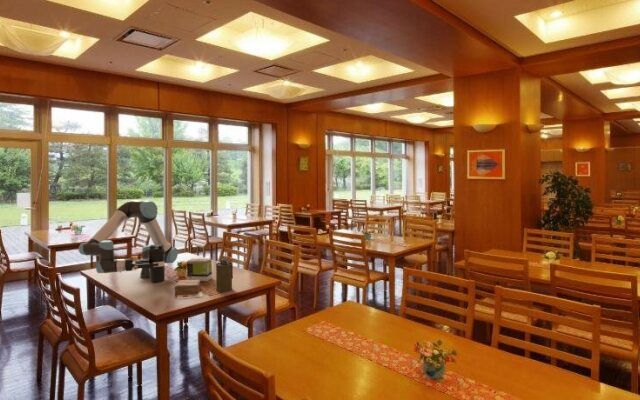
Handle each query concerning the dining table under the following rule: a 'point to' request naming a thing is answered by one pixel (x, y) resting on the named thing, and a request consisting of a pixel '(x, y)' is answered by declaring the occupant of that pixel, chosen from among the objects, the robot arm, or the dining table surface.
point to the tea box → (199, 269)
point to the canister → (224, 276)
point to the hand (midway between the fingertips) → (164, 261)
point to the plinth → (187, 287)
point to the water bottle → (157, 255)
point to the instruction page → (189, 296)
